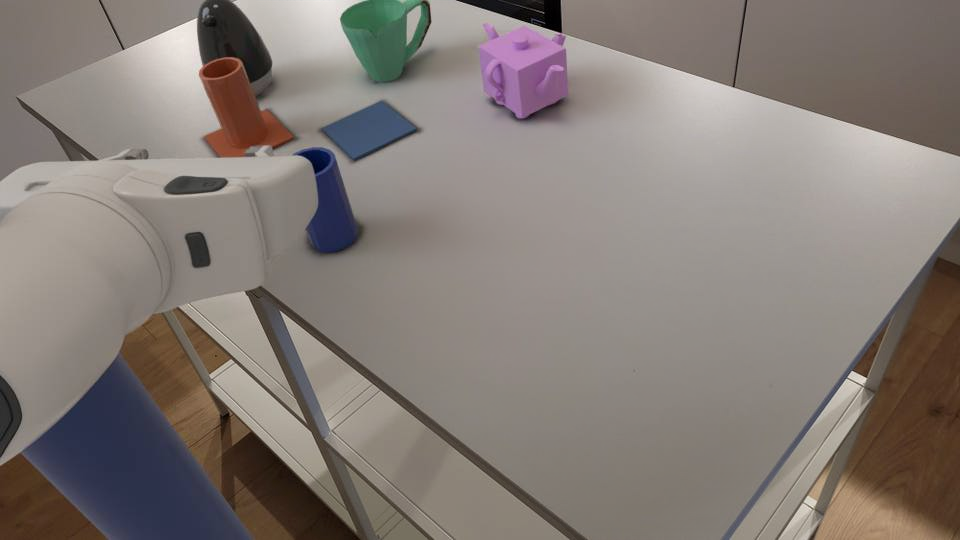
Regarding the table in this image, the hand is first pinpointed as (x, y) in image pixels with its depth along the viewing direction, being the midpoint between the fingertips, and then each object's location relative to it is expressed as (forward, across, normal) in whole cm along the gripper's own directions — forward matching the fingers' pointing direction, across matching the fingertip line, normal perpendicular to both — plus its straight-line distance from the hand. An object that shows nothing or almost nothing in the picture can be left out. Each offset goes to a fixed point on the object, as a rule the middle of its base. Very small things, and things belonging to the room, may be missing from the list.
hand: (201, 156), depth 56 cm
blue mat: (+50, 0, -15) cm, 53 cm away
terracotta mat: (+51, -17, -16) cm, 56 cm away
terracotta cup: (+51, -17, -16) cm, 56 cm away
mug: (+66, +3, -10) cm, 67 cm away
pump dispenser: (+64, -21, -13) cm, 68 cm away
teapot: (+55, +23, -13) cm, 61 cm away
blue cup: (+29, 0, -21) cm, 36 cm away
